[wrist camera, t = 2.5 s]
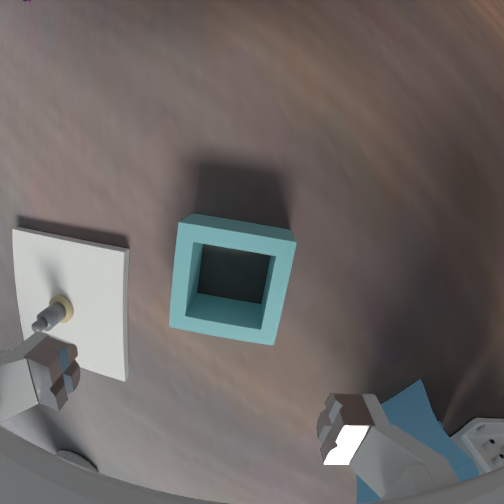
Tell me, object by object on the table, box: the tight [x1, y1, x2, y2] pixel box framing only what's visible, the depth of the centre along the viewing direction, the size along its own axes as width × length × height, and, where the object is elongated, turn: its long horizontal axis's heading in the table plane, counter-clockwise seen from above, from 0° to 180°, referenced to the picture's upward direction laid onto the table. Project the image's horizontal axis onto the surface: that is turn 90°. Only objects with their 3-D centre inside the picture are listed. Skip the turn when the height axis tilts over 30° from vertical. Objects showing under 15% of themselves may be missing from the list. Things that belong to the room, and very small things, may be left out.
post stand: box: [12, 227, 130, 381], centre depth 21 cm, size 12×12×5 cm
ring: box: [169, 213, 297, 345], centre depth 20 cm, size 7×7×4 cm
